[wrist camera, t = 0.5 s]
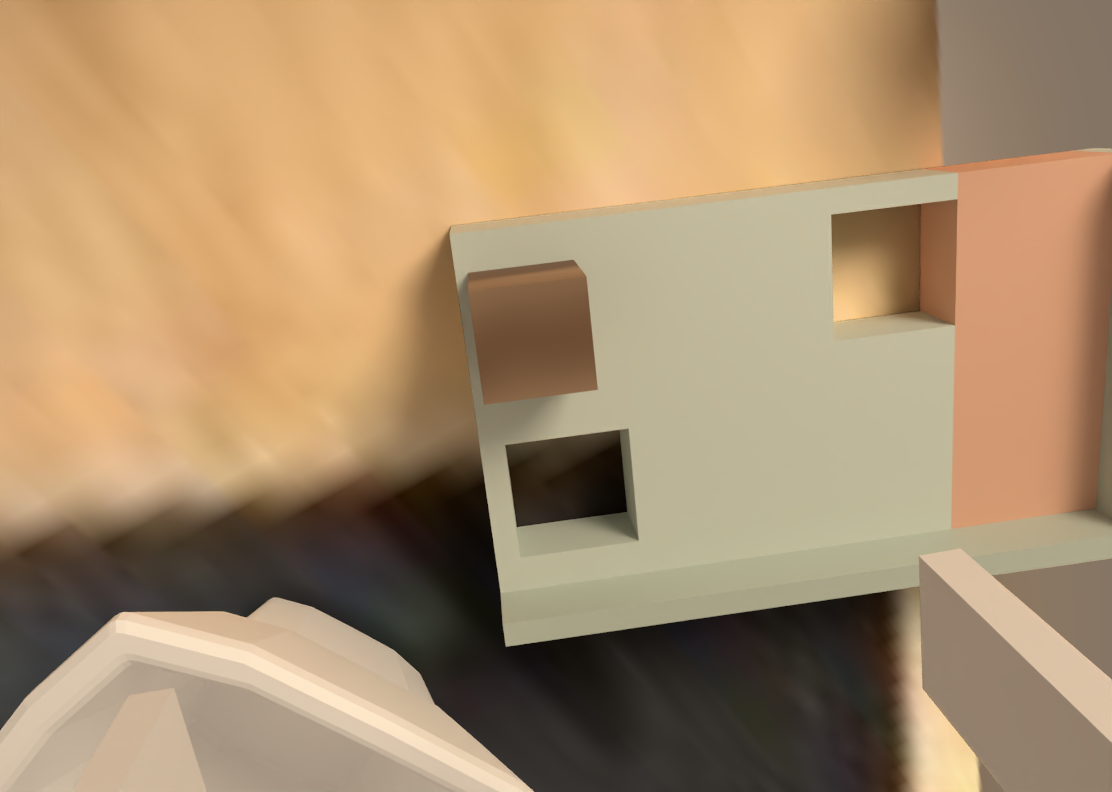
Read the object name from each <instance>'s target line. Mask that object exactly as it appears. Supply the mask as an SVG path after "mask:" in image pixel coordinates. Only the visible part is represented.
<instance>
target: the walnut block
mask: <svg viewBox="0 0 1112 792" xmlns="http://www.w3.org/2000/svg"><path fill="white" fill-rule="evenodd" d="M468 295H469V302H470V309H471V316H472V323H473V330H474V338H475V345H476V352H477V359H478V366H479V373H480V381H481V388H482V395H483V402H484V405H486V404H494V403H502V402H509V401H517V400H524V399H532V398H540V397H547V396H555V395H562V394H570V393H578V392H585V391H593V390H598V386H597V376H596V366H595V356H594V346H593V336H592V326H591V316H590V306H589V296H588V286H587V276H586V275H585V274H584V273H583V271H582V270H581V269H580V267H579V266H578V265H577V263H576V262H575V261H574V260H567V261H559V262H551V263H543V264H535V265H527V266H519V267H510V268H502V269H494V270H486V271H478V272H470V273H468Z"/></svg>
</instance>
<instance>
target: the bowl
mask: <svg viewBox="0 0 1112 792" xmlns="http://www.w3.org/2000/svg"><path fill="white" fill-rule="evenodd" d="M169 688H174V690H175V693H176V696H177V699H178V703H179V706H180V709H181V712H182V715H183V718H184V722H185V725H186V728H187V731H188V734H189V737H190V741H191V744H192V747H193V750H194V753H195V756H196V759H197V763H198V766H199V769H200V772H201V775H202V778H203V782H204V785H205V788H206V791H207V792H534V791H533V790H532V789H530V788H529V787H528V786H527V785H526V784H525V783H524V782H523V781H522V780H520V779H519V778H518V777H517V776H516V775H515V774H514V773H513V772H512V771H511V770H509V769H508V768H507V767H506V766H505V765H504V764H503V763H502V762H501V761H499V760H498V759H497V758H496V757H495V756H494V755H493V754H492V753H491V752H489V751H488V750H487V749H486V748H485V747H484V746H483V745H482V744H481V743H479V742H478V741H477V740H476V739H475V738H474V737H472V736H471V735H470V734H469V733H468V732H467V731H466V730H464V729H463V728H462V727H461V726H460V725H459V724H457V723H456V722H455V721H454V720H453V719H452V718H451V717H449V716H448V715H447V714H446V713H445V712H444V711H442V710H441V709H440V708H439V707H438V706H436V705H435V704H434V702H433V700H432V698H431V696H430V693H429V691H428V689H427V687H426V685H425V683H424V681H423V679H422V677H421V675H420V673H419V672H418V671H417V670H415V669H414V668H413V667H412V666H411V665H410V664H409V663H408V662H407V661H405V660H404V659H403V658H402V657H401V656H400V655H399V654H398V653H396V652H395V651H394V650H393V649H391V648H389V647H387V646H385V645H384V644H382V643H380V642H378V641H376V640H374V639H373V638H371V637H369V636H367V635H365V634H363V633H362V632H360V631H358V630H356V629H354V628H352V627H350V626H348V625H346V624H345V623H343V622H341V621H339V620H337V619H335V618H333V617H331V616H329V615H327V614H325V613H323V612H321V611H319V610H317V609H315V608H313V607H311V606H307V605H303V604H300V603H296V602H292V601H288V600H285V599H281V598H275V597H274V598H271V599H270V600H268V601H267V602H265V603H264V604H263V605H262V606H261V607H259V608H258V609H257V610H256V611H254V612H253V613H252V614H251V615H249V616H248V617H247V618H246V617H242V616H238V615H235V614H231V613H227V612H122V613H120V614H118V615H116V616H114V617H113V618H112V619H111V620H110V621H109V622H108V623H107V624H106V625H104V626H103V627H102V628H101V629H100V630H99V631H98V632H97V633H96V634H95V635H93V636H92V637H91V638H90V639H89V640H88V641H87V642H86V643H85V644H83V645H82V646H81V647H80V648H79V649H78V650H77V651H76V652H75V653H74V654H72V655H71V656H70V657H69V658H68V659H67V660H66V661H65V662H64V663H62V664H61V665H60V666H59V667H58V668H57V669H56V670H55V671H54V672H53V673H51V674H50V675H49V676H48V677H47V678H46V679H45V680H44V681H43V682H41V683H40V684H39V685H38V686H37V687H36V688H35V689H34V690H33V691H32V692H31V693H30V694H29V695H28V696H27V697H26V698H25V699H24V700H23V702H22V703H21V704H20V706H19V707H18V708H17V710H16V711H15V712H14V713H13V715H12V716H11V717H10V719H9V720H8V721H7V723H6V724H5V725H4V727H3V728H2V729H1V730H0V792H71V791H72V790H73V788H74V786H75V785H76V783H77V781H78V780H79V778H80V776H81V775H82V773H83V771H84V770H85V768H86V766H87V765H88V763H89V761H90V760H91V758H92V756H93V755H94V753H95V751H96V750H97V748H98V746H99V744H100V743H101V741H102V739H103V738H104V736H105V734H106V733H107V731H108V729H109V728H110V726H111V724H112V723H113V721H114V719H115V718H116V716H117V714H118V713H119V711H120V709H121V708H122V706H123V704H124V703H125V701H126V699H127V698H128V696H130V695H135V694H141V693H147V692H152V691H158V690H164V689H169Z"/></svg>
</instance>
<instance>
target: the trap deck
mask: <svg viewBox="0 0 1112 792" xmlns="http://www.w3.org/2000/svg"><path fill="white" fill-rule="evenodd" d="M914 204H921V241H920V311H915V312H907V313H900V314H892V315H884V316H876V317H869V318H861V319H853V320H845V321H838V322H833V280H832V231H831V215H833V214H841V213H849V212H857V211H865V210H874V209H882V208H890V207H898V206H906V205H914ZM449 235H450V242H451V249H452V256H453V263H454V270H455V277H456V284H457V291H458V298H459V305H460V312H461V319H462V326H463V333H464V340H465V347H466V354H467V361H468V368H469V375H470V382H471V389H472V396H473V403H474V410H475V417H476V424H477V431H478V438H479V445H480V452H481V459H482V466H483V473H484V480H485V487H486V494H487V501H488V508H489V515H490V522H491V529H492V536H493V543H494V550H495V557H496V564H497V571H498V578H499V585H500V592H501V605H502V621H503V630H504V637H505V644H506V647H507V646H514V645H521V644H528V643H535V642H541V641H548V640H555V639H562V638H569V637H576V636H583V635H589V634H596V633H603V632H610V631H617V630H624V629H630V628H637V627H644V626H651V625H658V624H665V623H672V622H678V621H685V620H692V619H699V618H706V617H713V616H720V615H726V614H733V613H740V612H747V611H754V610H761V609H768V608H774V607H781V606H788V605H795V604H802V603H809V602H815V601H822V600H829V599H836V598H843V597H850V596H857V595H863V594H870V593H877V592H884V591H891V590H898V589H905V588H911V587H918V586H920V583H919V556H920V555H926V554H932V553H937V552H943V551H949V550H954V549H960V548H961V549H962V550H963V551H964V552H965V553H966V554H968V555H969V556H970V557H971V558H972V559H973V560H974V561H976V562H977V563H978V564H979V565H980V566H981V567H983V568H984V569H985V570H986V571H987V572H988V573H989V574H991V575H992V576H993V575H1000V574H1007V573H1014V572H1021V571H1028V570H1035V569H1041V568H1048V567H1055V566H1062V565H1069V564H1076V563H1083V562H1089V561H1096V560H1103V559H1110V558H1112V149H1108V148H1091V149H1083V150H1074V151H1067V152H1058V153H1050V154H1041V155H1034V156H1025V157H1017V158H1009V159H1000V160H992V161H984V162H975V163H967V164H958V165H951V166H942V167H934V168H925V169H917V170H909V171H900V172H892V173H884V174H876V175H867V176H859V177H851V178H842V179H834V180H826V181H818V182H809V183H801V184H793V185H784V186H776V187H768V188H760V189H751V190H743V191H735V192H726V193H718V194H710V195H702V196H693V197H685V198H677V199H668V200H660V201H652V202H644V203H635V204H627V205H619V206H610V207H602V208H594V209H586V210H577V211H569V212H561V213H552V214H544V215H536V216H528V217H519V218H511V219H503V220H494V221H486V222H478V223H470V224H461V225H453V226H451V229H450V234H449ZM567 260H574V261H575V262H576V263H577V265H578V266H579V267H580V269H581V270H582V271H583V273H584V274H585V275H586V276H587V286H588V296H589V306H590V316H591V326H592V336H593V346H594V356H595V366H596V376H597V386H598V390H593V391H585V392H578V393H570V394H562V395H555V396H547V397H540V398H532V399H524V400H517V401H509V402H502V403H494V404H486V405H484V402H483V395H482V388H481V381H480V373H479V366H478V359H477V352H476V345H475V338H474V330H473V323H472V316H471V309H470V302H469V295H468V273H470V272H478V271H486V270H494V269H502V268H510V267H519V266H527V265H535V264H543V263H551V262H559V261H567ZM614 430H620V441H621V451H622V462H623V472H624V483H625V494H626V504H627V512H623V513H615V514H608V515H601V516H594V517H587V518H579V519H572V520H565V521H558V522H551V523H543V524H536V525H529V526H522V527H517V526H516V519H515V511H514V504H513V496H512V489H511V481H510V474H509V466H508V459H507V451H506V445H509V444H517V443H524V442H531V441H539V440H546V439H554V438H561V437H569V436H576V435H584V434H591V433H599V432H606V431H614Z"/></svg>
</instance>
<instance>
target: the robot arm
mask: <svg viewBox="0 0 1112 792" xmlns="http://www.w3.org/2000/svg"><path fill="white" fill-rule="evenodd" d="M919 583H920V617H921V651H922V685H923V689H924V691H925V692H926V693H927V694H928V696H929V697H930V698H931V699H932V701H933V702H934V703H935V704H936V706H937V707H938V708H939V709H940V711H941V712H942V713H943V714H944V716H945V717H946V718H947V719H948V721H949V722H950V723H951V724H952V726H953V727H954V728H955V729H956V731H957V732H958V733H959V734H960V736H961V737H962V738H963V739H964V741H965V742H966V743H967V744H968V746H969V747H970V748H971V749H972V751H973V752H974V753H975V754H976V756H977V757H978V758H979V759H980V761H981V762H982V763H983V765H984V766H985V767H986V768H987V769H988V771H989V772H990V773H991V774H992V776H993V777H994V778H995V780H996V781H997V782H998V783H999V785H1000V786H1001V787H1002V788H1003V790H1004V791H1005V792H1112V680H1111V679H1110V678H1109V677H1108V676H1107V675H1106V674H1104V673H1103V672H1102V671H1101V670H1100V669H1099V668H1097V667H1096V666H1095V665H1094V664H1093V663H1092V662H1091V661H1089V660H1088V659H1087V658H1086V657H1085V656H1084V655H1083V654H1081V653H1080V652H1079V651H1078V650H1077V649H1076V648H1074V647H1073V646H1072V645H1071V644H1070V643H1069V642H1068V641H1066V640H1065V639H1064V638H1063V637H1062V636H1061V635H1060V634H1058V633H1057V632H1056V631H1055V630H1054V629H1053V628H1051V627H1050V626H1049V625H1048V624H1047V623H1046V622H1045V621H1043V620H1042V619H1041V618H1040V617H1039V616H1038V615H1037V614H1035V613H1034V612H1033V611H1032V610H1031V609H1030V608H1029V607H1027V606H1026V605H1025V604H1024V603H1023V602H1022V601H1020V600H1019V599H1018V598H1017V597H1016V596H1015V595H1013V594H1012V593H1011V592H1010V591H1009V590H1008V589H1007V588H1006V587H1004V586H1003V585H1002V584H1001V583H999V582H998V581H997V580H996V579H995V578H994V577H993V576H992V575H991V574H989V573H988V572H987V571H986V570H985V569H984V568H983V567H981V566H980V565H979V564H978V563H977V562H976V561H974V560H973V559H972V558H971V557H970V556H969V555H968V554H966V553H965V552H964V551H963V550H962V549H961V548H960V549H954V550H949V551H943V552H937V553H932V554H926V555H920V556H919ZM71 792H207V791H206V788H205V785H204V782H203V778H202V775H201V772H200V769H199V766H198V763H197V759H196V756H195V753H194V750H193V747H192V744H191V741H190V737H189V734H188V731H187V728H186V725H185V722H184V718H183V715H182V712H181V709H180V706H179V703H178V699H177V696H176V693H175V690H174V688H169V689H164V690H158V691H152V692H147V693H141V694H135V695H130V696H128V698H127V699H126V701H125V703H124V704H123V706H122V708H121V709H120V711H119V713H118V714H117V716H116V718H115V719H114V721H113V723H112V724H111V726H110V728H109V729H108V731H107V733H106V734H105V736H104V738H103V739H102V741H101V743H100V744H99V746H98V748H97V750H96V751H95V753H94V755H93V756H92V758H91V760H90V761H89V763H88V765H87V766H86V768H85V770H84V771H83V773H82V775H81V776H80V778H79V780H78V781H77V783H76V785H75V786H74V788H73V790H72V791H71Z"/></svg>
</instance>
